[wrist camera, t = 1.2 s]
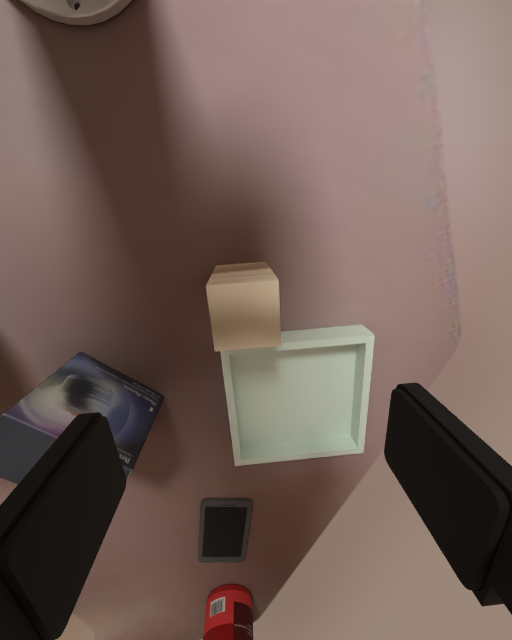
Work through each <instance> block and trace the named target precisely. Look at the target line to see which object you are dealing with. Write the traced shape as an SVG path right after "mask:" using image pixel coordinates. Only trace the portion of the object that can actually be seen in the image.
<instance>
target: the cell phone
mask: <svg viewBox="0 0 512 640" xmlns="http://www.w3.org/2000/svg"><path fill="white" fill-rule="evenodd" d="M251 512H252V500H251V499H246V498H205V499H203V500H202V503H201V514H200V533H199V553H198V559H199V561H200V562H243V561H244V559H245V554H246V547H247V540H248V533H249V526H250V519H251Z"/></svg>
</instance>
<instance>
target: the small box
mask: <svg viewBox="0 0 512 640" xmlns="http://www.w3.org/2000/svg"><path fill="white" fill-rule="evenodd" d="M163 399H164V396H163V395H161V394H159V393H157V392H155V391H153V390H151V389H149V388H148V387H146V386H144V385H142V384H140V383H138V382H136V381H134V380H133V379H131V378H129V377H127V376H125V375H123V374H121V373H120V372H118V371H116V370H114V369H112V368H110V367H108V366H106V365H105V364H103V363H101V362H99V361H97V360H95V359H93V358H92V357H90V356H88V355H86V354H84V353H83V352H79V353H78V354H77V355H76V356H75V357H74V358H72V359H71V360H70V361H69V362H67V363H66V364H65V365H64V366H62V367H61V368H60V369H59V370H57V371H56V372H55V373H54V374H53V375H51V376H50V377H49V378H47V379H46V380H45V381H44V382H43V383H41V384H40V385H39V386H37V387H36V388H35V389H34V390H32V391H31V392H30V393H29V394H27V395H26V396H25V397H24V398H22V399H21V400H20V401H19V402H17V403H16V404H15V405H14V406H12V407H11V408H9V409H8V410H7V411H6V412H4V413H3V414H2V415H1V417H0V478H3V479H6V480H9V481H11V482H14V483H16V484H19V483H20V482H21V481H22V479H23V478H24V477H25V476H26V475H27V473H28V472H29V471H30V470H31V469H32V468H33V466H34V465H35V464H36V463H37V462H38V460H39V459H40V458H41V457H42V456H43V455H44V453H45V452H46V451H47V450H48V449H49V448H50V446H51V445H52V444H53V443H54V442H55V440H56V439H57V438H58V437H59V436H60V435H61V433H62V432H63V431H64V430H65V429H66V427H67V426H68V425H69V424H70V423H71V422H72V420H73V419H74V418H75V417H76V416H77V415H78V414H83V413H93V412H99V413H101V414H102V416H105V417H107V419H108V422H109V425H110V428H111V431H112V434H113V438H114V441H115V444H116V447H117V450H118V453H119V457H120V460H121V463H122V466H123V469H124V472H125V475H126V479H127V478H128V476H129V475H130V474H131V473H132V471H133V468H134V465H135V463H136V461H137V458H138V456H139V454H140V452H141V450H142V447H143V445H144V442H145V440H146V438H147V435H148V433H149V431H150V429H151V426H152V424H153V422H154V419H155V417H156V415H157V412H158V410H159V408H160V406H161V403H162V401H163Z"/></svg>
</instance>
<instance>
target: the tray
mask: <svg viewBox="0 0 512 640" xmlns="http://www.w3.org/2000/svg"><path fill="white" fill-rule="evenodd" d="M374 337H375V335H374V334H373V333H372V332H370V331H369V330H368V329H367V328H366V327H364V326H363V325H362V324H361V325H349V326H338V327H326V328H315V329H303V330H292V331H281V346H272V347H261V348H249V349H238V350H227V351H220V353H221V361H222V368H223V376H224V384H225V392H226V400H227V407H228V415H229V423H230V431H231V439H232V446H233V454H234V462H235V466H241V465H251V464H260V463H270V462H280V461H289V460H299V459H309V458H318V457H328V456H338V455H347V454H357V453H364V442H365V432H366V421H367V411H368V400H369V390H370V379H371V369H372V358H373V348H374Z"/></svg>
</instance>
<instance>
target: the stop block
mask: <svg viewBox="0 0 512 640" xmlns="http://www.w3.org/2000/svg"><path fill="white" fill-rule="evenodd" d="M206 292H207V299H208V306H209V314H210V321H211V328H212V336H213V343H214V350H215V351H227V350H238V349H249V348H261V347H272V346H281V327H280V301H279V280H278V278H277V277H276V275H275V274H274V273H273V271H272V270H271V268H270V267H269V265H268V264H267V262H255V263H242V264H229V265H216V267H215V269H214V271H213V273H212V275H211V277H210V279H209V280H208V282H207V284H206Z"/></svg>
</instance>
